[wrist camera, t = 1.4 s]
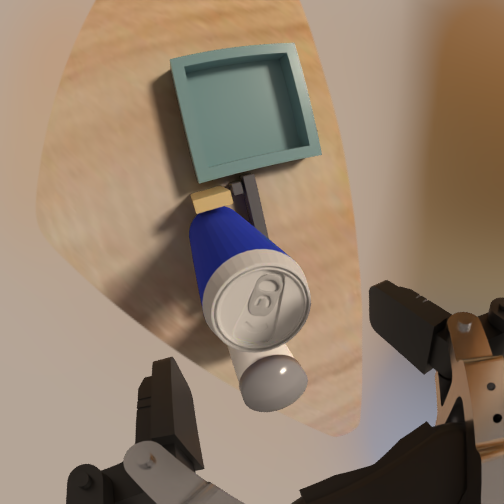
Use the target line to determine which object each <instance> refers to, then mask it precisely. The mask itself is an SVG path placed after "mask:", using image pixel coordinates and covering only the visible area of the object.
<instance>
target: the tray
mask: <svg viewBox="0 0 504 504" xmlns="http://www.w3.org/2000/svg"><path fill="white" fill-rule="evenodd" d="M170 70H171V74H172V79H173V83H174V88H175V92H176V97H177V101H178V105H179V110H180V114H181V118H182V122H183V127H184V131H185V135H186V139H187V143H188V147H189V151H190V155H191V159H192V163H193V167H194V171H195V175H196V178H197V182H198V183H203V182H206V181H210V180H214V179H217V178H221V177H225V176H229V175H233V174H236V173H240V172H244V171H249V170H253V169H257V168H261V167H265V166H270V165H274V164H279V163H283V162H288V161H293V160H298V159H302V158H307V157H313V156H318V155H322V153H321V148H320V143H319V138H318V133H317V129H316V124H315V120H314V115H313V111H312V107H311V102H310V98H309V94H308V90H307V86H306V82H305V79H304V75H303V71H302V68H301V64H300V60H299V57H298V53H297V50H296V47H295V43H279V44H263V45H252V46H242V47H234V48H226V49H220V50H213V51H208V52H202V53H197V54H192V55H187V56H182V57H178V58H174V59H170Z"/></svg>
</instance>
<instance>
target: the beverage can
mask: <svg viewBox="0 0 504 504" xmlns="http://www.w3.org/2000/svg"><path fill="white" fill-rule="evenodd" d="M189 239H190V245H191V250H192V256H193V262H194V267H195V273H196V278H197V284H198V289H199V294H200V299H201V304H202V309H203V314H204V318H205V320H206V322H207V324H208V326H209V327H210V329H211V330H212V331H213V332H214V333H215V334H216V335H217V336H218V337H219V338H220V339H221V340H222V341H223V342H224V343H225V344H227V345H228V346H230V347H232V348H234V349H236V350H239V351H243V352H254V353H257V352H265V351H269V350H272V349H275V348H277V347H279V346H281V345H283V344H285V343H286V342H288V341H289V340H291V339H292V338H293V337H294V336H295V335H296V334H297V333H298V332H299V331H300V330H301V328H302V327H303V325H304V324H305V322H306V320H307V318H308V315H309V312H310V306H311V296H310V291H309V288H308V284H307V280H306V278H305V275H304V273H303V271H302V269H301V268H300V266H299V265H298V264H297V263H296V262H295V261H294V260H293V259H292V258H291V257H290V256H288V255H287V254H286V253H285V252H284V251H282V250H281V249H280V248H279V247H278V246H276V245H275V244H274V243H273V242H272V241H270V240H269V239H268V238H267V237H266V236H264V235H263V234H262V233H261V232H260V231H258V230H257V229H256V228H255V227H254V226H252V225H251V224H250V223H249V222H248V221H246V220H245V219H244V218H243V217H241V216H240V215H239V214H238V213H237V212H235V211H234V210H232V209H230V208H228V207H225V206H222V207H219V208H215V209H212V210H209V211H205V212H202V213H199V214H198V215H196V217H195V218H194V219H193V221H192V223H191V226H190V230H189Z"/></svg>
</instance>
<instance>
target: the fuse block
mask: <svg viewBox="0 0 504 504" xmlns="http://www.w3.org/2000/svg"><path fill="white" fill-rule="evenodd" d="M240 180H241V182H239V181H236V182H232V183H229V186H230V190H231V192H230V190H228V189H226V188H224V187H222V186H217V187H213V188H210V189H206V190H203V191H199V192H196V193H192V194H190V195H191V199H192V203H193V206H194V209H195V211H196V214H198V213H202V212H205V211H209V210H212V209H215V208H219V207H222V206H226V205H230V204H233V200H232V196H231V194H233V195H239V194H242V193H244V197H245V201H246V206H247V210H248V214H249V218H250V222H251V225H252V226H254V227H255V228H256V229H257V230H258V231H260V232H261V233H262V234H263V235H264V236H266V237H267V238H268V233H267V229H266V224H265V220H264V215H263V211H262V206H261V202H260V197H259V193H258V188H257V184H256V180H255V175H254V174H251V173H250V174H246V175H242V176H240ZM241 184H242V185H241ZM268 239H269V238H268Z"/></svg>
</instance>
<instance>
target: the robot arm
mask: <svg viewBox="0 0 504 504" xmlns="http://www.w3.org/2000/svg"><path fill="white" fill-rule="evenodd" d="M369 316H370V323H371V325H372V327H373V329H374V330H375V331H376V332H377V333H378V334H379V335H380V336H381V337H382V338H383V339H385V340H386V341H387V342H388V343H389V344H390V345H392V346H393V347H394V348H395V349H396V350H397V351H398V352H399V353H400V354H402V355H403V356H404V357H405V358H406V359H407V360H408V361H410V362H411V363H412V364H413V365H414V366H415V367H416V368H417V369H418V370H419V371H421V372H422V373H423V374H426V373H427V372H428V371H430V370H431V369H432V368H434V369H435V370H436V373H435V382H436V394H437V408H438V409H437V410H438V412H437V420H436V425H435V426H434V427H431V426H430V425H429V423H428V422H425V423H424V424H422V425H421V426H419V427H418V428H417V429H415V430H414V431H412V432H411V433H409V434H408V435H406V436H405V437H403V438H402V439H400V440H399V441H398V442H397V443H396V444H395V445H394V446H393V447H392V448H391V449H390V450H389V451H388V452H387V453H386V454H385V455H384V456H383V457H382V458H381V459H380V460H379V461H377V462H376V463H375V464H373V465H371V466H368V467H364V468H361V469H357V470H354V471H350V472H346V473H342V474H338V475H334V476H332V477H330V478H328V479H326V480H323V481H321V482H318V483H316V484H313V485H311V486H308V487H306V488H303V489H300V493H301V496H302V497H300V498H299V499H297V500H296V501H294V502H293V503H292V504H504V298H496V299H494V300H493V301H492V302H491V305H490V309H489V312H488V313H486V314H483V315H481V316H478V317H477V316H475V315H474V314H472V313H468V312H457V313H454V314H453V315H452V314H450V313H449V312H447V311H445V310H444V309H442V308H441V307H439V306H437V305H436V304H434V303H432V302H431V301H429V300H428V301H427V299H426V298H424V297H423V296H420V295H419V294H418V293H416V292H414V291H413V290H411V289H407V288H403V287H398V286H396V285H395V284H393V283H391V282H390V281H388V280H385V281H383V282H381V283H378V284H376V285H374V286H372V287H371V288H370V290H369ZM137 409H138V410H137V417H136V441H135V445H133V446H132V447H131V448H130V449H129V450H128V451H127V452H126V454H125V456H124V461H123V462H122V463H120V464H117V465H115V466H112V467H110V468H107V469H104V470H102V471H100V470H99V469H98V468H97V467H95V466H94V465H90V464H83V465H80V466H78V467H76V468H75V469H74V470H73V471H72V472H71V473H70V475H69V477H68V482H67V497H66V504H244V503H243V502H241V501H239V500H238V499H236V498H234V497H233V496H231V495H230V494H228V493H226V492H225V491H223V490H222V489H220V488H219V487H217V486H216V485H214V484H212V483H211V482H207V481H205V480H204V479H202V478H201V477H200V476H198V475H197V474H196V473H195V471H196V470H202V469H204V465H203V459H202V453H201V448H200V442H199V437H198V430H197V424H196V418H195V411H194V404H193V398H192V394H191V391H190V388H189V386H188V384H187V382H186V380H185V378H184V377H183V375H182V373H181V371H180V369H179V367H178V365H177V363H176V361H175V360H174V358H173V357H170V358H165V359H162V360H158V361H154V362H153V366H152V376H150V377H146V378H144V380H143V381H142V383H141V385H140V387H139V389H138V402H137Z"/></svg>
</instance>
